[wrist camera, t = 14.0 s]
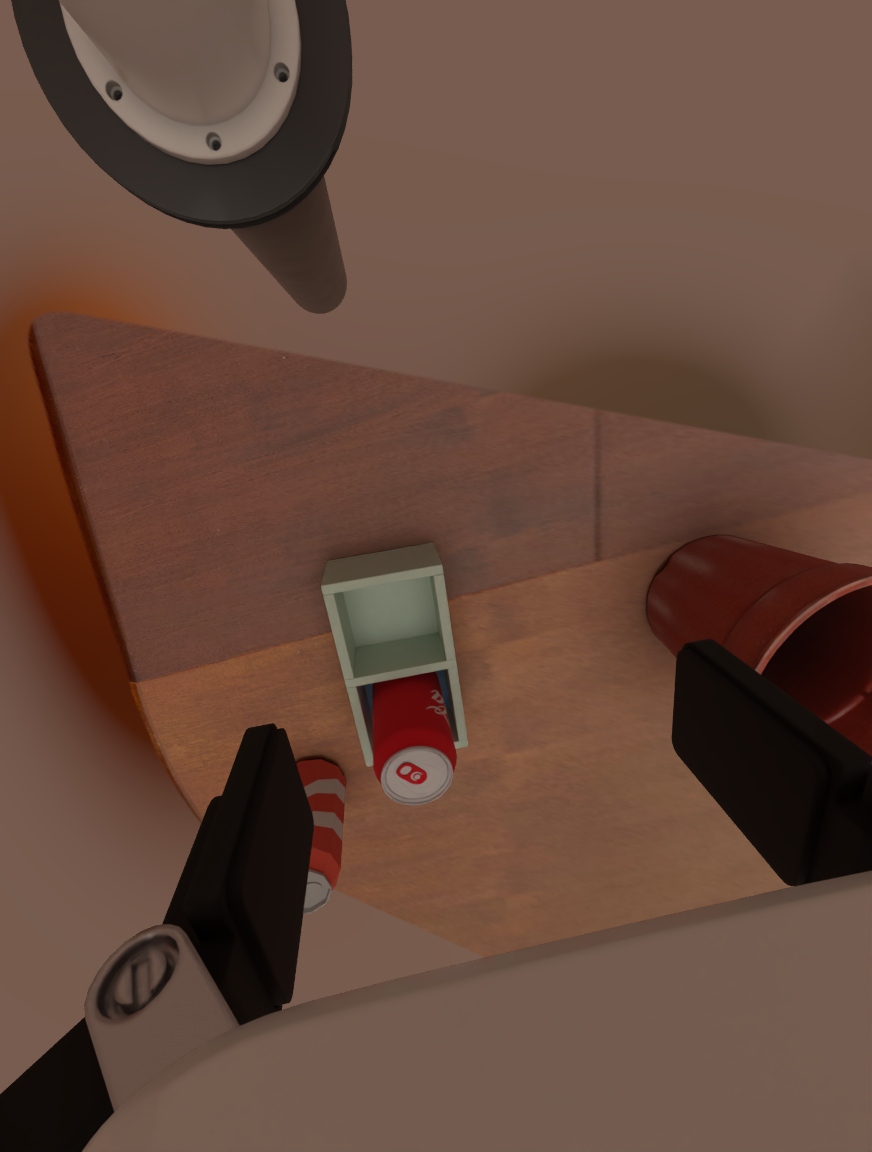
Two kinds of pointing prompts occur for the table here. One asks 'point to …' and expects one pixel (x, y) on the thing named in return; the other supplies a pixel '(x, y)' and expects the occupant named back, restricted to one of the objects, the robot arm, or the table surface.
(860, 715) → the flower pot
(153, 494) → the table surface
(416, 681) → the beverage can
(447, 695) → the grey divided storage box
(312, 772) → the beverage can
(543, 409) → the table surface
